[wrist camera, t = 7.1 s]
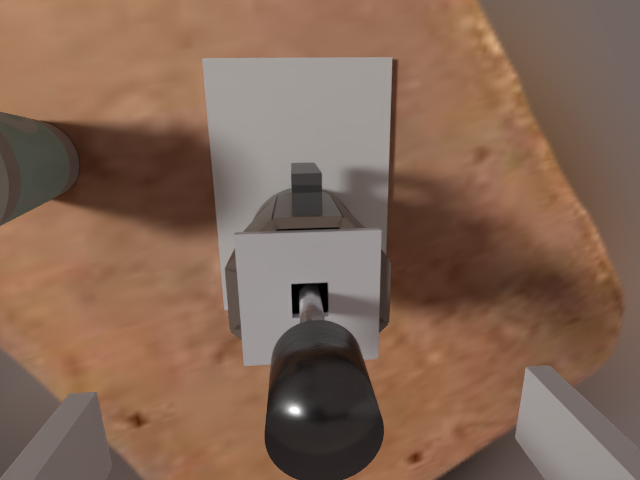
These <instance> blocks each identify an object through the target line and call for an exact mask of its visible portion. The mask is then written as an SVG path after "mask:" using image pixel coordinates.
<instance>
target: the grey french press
mask: <svg viewBox="0 0 640 480" xmlns="http://www.w3.org/2000/svg"><path fill="white" fill-rule="evenodd" d="M291 187H292V188H289V189H286V190H283V191H281V192H279V193H277V194H275V195H273V196H272V197H271V198H269V199H268V200H267V201H266V202H265V203H264V204H263V205H262V206H261V207H260V208H259V210H258V211H257V213H256V215H255V217H254V219H253V221H252V222H251V223H250V224H249V226H248V227H247V228H246V229H245V230H244V231H243V232H235V234H234V243H235V248H234V250H233V252H232V254H231V257H230V259H229V261H228V263H227V265H226V267H225V278H226V290H227V302H228V313H229V325H230V330H231V332H232V333H233V334H235V335H236V336H237V337H238V338H240V339H241V340H242V347H243V360H244V366H251V365H270V364H271V358H272V352H273V349H274V347H275V345H276V343H277V341H278V340H279V338H280V337H281V336H282V335H283V334H284V333H285V332H286V331H287V330H288V329H290V328H291V327H293V326H295V325H297V324H299V323H300V310H299V287H298V284H302V283H319V289H320V295H321V300H322V306H323V312H324V318H325V320H326V321H331V322H334V323H337V324H339V325H341V326H343V327H344V328H346V329H347V330H348V331H349V332H350V333H352V334H353V336H354V337H355V338H356V340H357V342H358V344H359V347H360V350H361V353H362V356H363V359H364V360H365V359H378V342H379V332H381V331H382V330H383V329H384V328H385V327H386V326H387V325H388V322H389V312H390V284H391V262H390V260H389V258H388V257H387V256H386V254H385V253H384V252H383V250H382V249H381V233H382V230H381V229H380V228H365V227H364V226H363V225H362V224H361V223H360V222H359V221H358V220H357V219H356V218H355V217H354V216H353V215H352V214H351V213H350V211H349V210H348V208H347V207H346V206H345V205H344V204H343V203H342V202H341V201H340V200H339V199H338V198H337V197H335V196H334V195H332V194H331V193H328V192H326V191H324V190H322V173H321V171H320V170H319V168H318V167H317V165H316V164H315V163H314V162H312V163H291Z"/></svg>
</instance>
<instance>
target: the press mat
mask: <svg viewBox="0 0 640 480" xmlns="http://www.w3.org/2000/svg"><path fill="white" fill-rule="evenodd" d="M202 62H203V73H204V84H205V96H206V107H207V118H208V130H209V141H210V152H211V163H212V175H213V186H214V197H215V209H216V220H217V231H218V243H219V254H220V265H221V277H222V288H223V299H224V310H228V302H227V290H226V278H225V267H226V265H227V263H228V261H229V259H230V257H231V254H232V252H233V250H234V248H235V243H234V234H235V232H243V231H244V230H245V229H246V228H247V227H248V226H249V224H250V223H251V222H252V221H253V219H254V217H255V215H256V213H257V211H258V210H259V208H260V207H261V206H262V205H263V204H264V203H265V202H266V201H267V200H268V199H269V198H271V197H272V196H273V195H275V194H277V193H279V192H281V191H283V190H286V189H289V188H292V187H291V163H312V162H314V163H315V164H316V165H317V167H318V168H319V170H320V171H321V173H322V190H324V191H326V192H328V193H331V194H332V195H334V196H335V197H337V198H338V199H339V200H340V201H341V202H342V203H343V204H344V205H345V206H346V207H347V208H348V210H349V211H350V213H351V214H352V215H353V216H354V217H355V218H356V219H357V220H358V221H359V222H360V223H361V224H362V225H363V226H364V227H365V228H380V229H381V230H382V233H381V249H382V250H383V252H384V253H385V254H386V244H387V212H388V180H389V148H390V116H391V84H392V57H358V58H202Z"/></svg>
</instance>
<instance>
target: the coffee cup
mask: <svg viewBox="0 0 640 480" xmlns="http://www.w3.org/2000/svg"><path fill="white" fill-rule="evenodd" d="M78 173H79V158H78V154H77V151H76V149H75V147H74V145H73V143H72V142H71V140H70V139H69V138H68V137H67V136H66V135H65V134H64V133H63V132H62V131H61V130H60V129H58V128H57V127H55V126H53V125H51V124H49V123H46V122H43V121H38V120H34V119H30V118H25V117H21V116H16V115H12V114H7V113H3V112H0V226H1V225H3V224H5V223H7V222H9V221H11V220H12V219H14V218H16V217H18V216H20V215H22V214H24V213H26V212H28V211H30V210H32V209H34V208H36V207H38V206H40V205H42V204H44V203H46V202H48V201H50V200H51V199H53V198H55V197H57V196H59V195H61V194H63V193H65V192H66V191H67V190H69V189H70V188H71V187H72V186H73V184H74V183H75V181H76V179H77V177H78Z"/></svg>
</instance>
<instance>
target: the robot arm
mask: <svg viewBox="0 0 640 480" xmlns="http://www.w3.org/2000/svg"><path fill="white" fill-rule="evenodd" d="M515 438H516V440H517V441H518V443H519V444H520V445H521V447H522V448H523V450H524V451H525V452H526V454H527V455H528V456H529V458H530V459H531V461H532V462H533V463H534V465H535V466H536V468H537V469H538V470H539V472H540V473H541V475H542V476H543V477H544V479H545V480H640V450H639V448H637V447H636V446H635V445H634V444H633V443H632V442H631V441H630V440H629V439H628V438H626V436H625V435H624V434H622V433H621V432H620V431H619V430H618V429H617V428H616V427H615V426H614V425H613V424H612V423H611V422H609V421H608V420H607V419H606V418H605V417H604V416H603V415H602V414H601V413H600V412H599V411H598V410H597V409H595V407H593V406H592V405H591V404H590V403H589V402H588V401H587V400H586V399H585V398H584V397H582V395H581V394H579V393H578V392H577V391H576V390H575V389H574V388H573V387H572V386H571V385H570V384H569V383H568V382H567V381H566V380H564V379H563V378H562V377H561V376H560V375H559V374H558V373H557V372H556V371H555V370H554V369H553V368H552V367H551V366H549V365H547V366H530V367H526V371H525V377H524V383H523V390H522V396H521V403H520V409H519V416H518V422H517V429H516V435H515ZM111 468H112V464H111V459H110V454H109V449H108V444H107V439H106V435H105V430H104V425H103V420H102V415H101V410H100V406H99V401H98V396H97V392H86V393H70V394H69V395H68V396H67V397H66V398H65V400H64V401H63V402H62V403H61V405H60V406H59V407H58V409H57V410H56V411H55V412H54V413H53V414H52V416H51V417H50V418H49V419H48V421H47V422H46V423H45V425H43V427H42V428H41V429H40V431H39V432H38V433H37V434H36V436H35V437H34V438H33V439H32V440H31V441H30V443H29V444H28V445H27V446H26V448H25V449H24V450H23V451H22V453H21V454H20V455H19V456H18V457H17V459H16V460H15V461H14V463H13V464H12V465H11V466H10V467H9V468H8V470H7V471H6V472H5V474H4V475H3V476H2V477H1V478H0V480H105V479H106V477H107V475H108V473H109V471H110V469H111Z"/></svg>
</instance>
